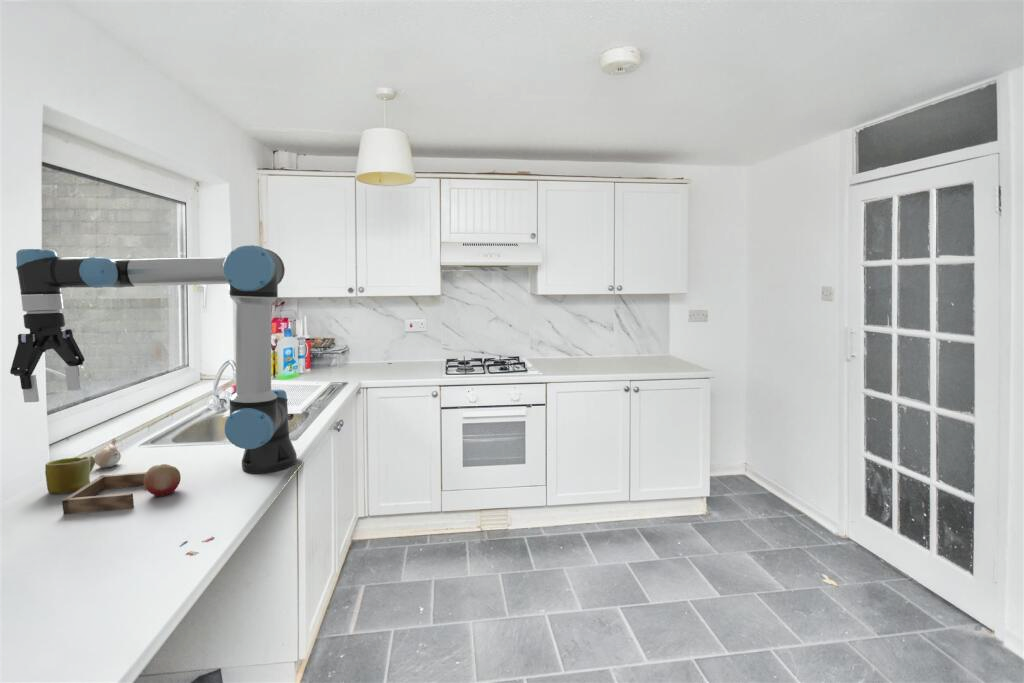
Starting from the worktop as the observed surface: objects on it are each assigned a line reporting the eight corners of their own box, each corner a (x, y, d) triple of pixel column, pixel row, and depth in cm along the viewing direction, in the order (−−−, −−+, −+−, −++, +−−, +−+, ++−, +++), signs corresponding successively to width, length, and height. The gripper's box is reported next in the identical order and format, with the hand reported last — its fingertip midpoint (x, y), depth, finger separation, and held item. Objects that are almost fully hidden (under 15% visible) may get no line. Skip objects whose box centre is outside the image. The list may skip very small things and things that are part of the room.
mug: (65, 492, 131) (60, 454, 132) (36, 501, 133) (32, 463, 134) (113, 483, 142) (108, 448, 144) (86, 492, 145) (81, 457, 146)
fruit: (189, 489, 136) (186, 461, 136) (159, 502, 129) (157, 471, 128) (167, 486, 139) (165, 457, 138) (137, 497, 132) (134, 468, 131)
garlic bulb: (125, 465, 156) (123, 439, 155) (100, 471, 150) (97, 445, 150) (116, 461, 159) (114, 436, 158) (91, 467, 154) (88, 442, 153)
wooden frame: (162, 483, 141) (160, 471, 141) (131, 508, 125) (130, 494, 125) (102, 487, 138) (101, 475, 138) (63, 514, 122) (61, 500, 122)
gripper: (65, 309, 139) (74, 386, 141) (-20, 315, 114) (-7, 408, 117) (95, 309, 139) (103, 385, 142) (17, 314, 115) (29, 406, 117)
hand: (54, 395), depth 129 cm, fingers open, 13 cm apart
